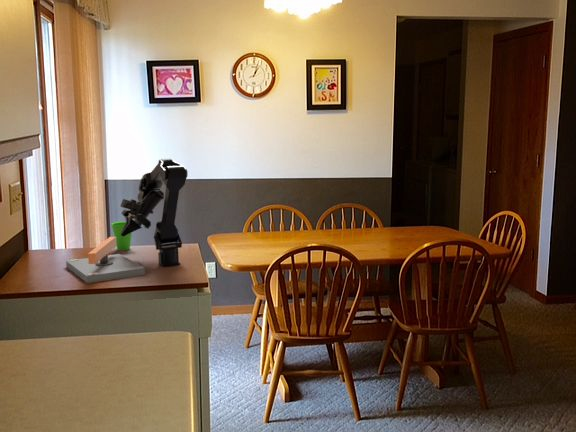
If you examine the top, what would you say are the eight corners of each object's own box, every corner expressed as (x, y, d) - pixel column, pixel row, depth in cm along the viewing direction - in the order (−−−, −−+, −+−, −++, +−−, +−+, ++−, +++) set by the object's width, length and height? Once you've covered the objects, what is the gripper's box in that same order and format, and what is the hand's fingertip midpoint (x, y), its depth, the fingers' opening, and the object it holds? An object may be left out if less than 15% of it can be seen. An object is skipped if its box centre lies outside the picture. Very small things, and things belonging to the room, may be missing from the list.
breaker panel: (119, 259, 238) (119, 252, 238) (144, 274, 215) (144, 266, 214) (66, 267, 227) (65, 259, 227) (87, 283, 204) (86, 274, 204)
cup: (139, 248, 260) (137, 222, 258) (122, 252, 252) (121, 225, 251) (124, 246, 265) (122, 220, 263) (107, 249, 257) (106, 224, 255)
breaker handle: (117, 255, 236) (116, 236, 234) (97, 274, 206) (95, 253, 205) (110, 255, 235) (109, 236, 234) (88, 274, 206) (87, 253, 205)
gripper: (125, 189, 242) (98, 219, 238) (141, 193, 227) (113, 225, 222) (145, 207, 248) (119, 237, 243) (162, 212, 232) (135, 244, 228)
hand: (121, 235), depth 234 cm, fingers closed
